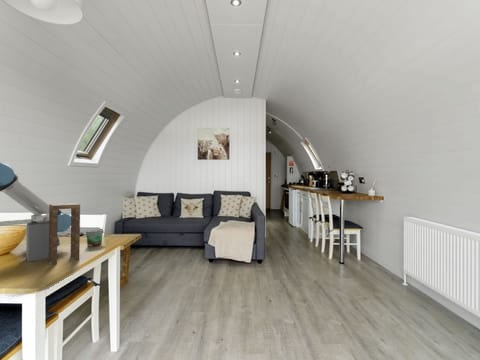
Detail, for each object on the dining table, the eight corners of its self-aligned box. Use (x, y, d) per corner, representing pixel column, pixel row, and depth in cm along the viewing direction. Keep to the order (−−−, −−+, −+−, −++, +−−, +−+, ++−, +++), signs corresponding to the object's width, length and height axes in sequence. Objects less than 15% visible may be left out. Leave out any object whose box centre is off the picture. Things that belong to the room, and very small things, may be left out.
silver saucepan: (-3, 224, 130) (-3, 216, 130) (50, 220, 146) (50, 213, 146) (-2, 227, 124) (-2, 218, 124) (53, 222, 139) (53, 214, 139)
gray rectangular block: (26, 258, 138) (26, 222, 138) (48, 254, 145) (49, 220, 145) (28, 261, 132) (28, 224, 132) (51, 257, 140) (52, 222, 140)
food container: (93, 248, 159) (94, 232, 159) (85, 247, 160) (85, 232, 160) (107, 243, 171) (108, 228, 171) (100, 243, 173) (100, 228, 173)
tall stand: (48, 260, 135) (49, 204, 135) (74, 255, 144) (75, 202, 144) (52, 264, 128) (53, 205, 128) (79, 259, 137) (80, 204, 137)
